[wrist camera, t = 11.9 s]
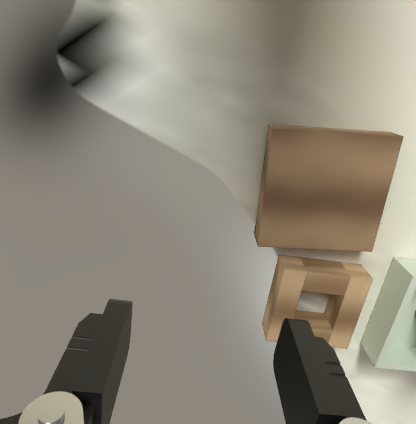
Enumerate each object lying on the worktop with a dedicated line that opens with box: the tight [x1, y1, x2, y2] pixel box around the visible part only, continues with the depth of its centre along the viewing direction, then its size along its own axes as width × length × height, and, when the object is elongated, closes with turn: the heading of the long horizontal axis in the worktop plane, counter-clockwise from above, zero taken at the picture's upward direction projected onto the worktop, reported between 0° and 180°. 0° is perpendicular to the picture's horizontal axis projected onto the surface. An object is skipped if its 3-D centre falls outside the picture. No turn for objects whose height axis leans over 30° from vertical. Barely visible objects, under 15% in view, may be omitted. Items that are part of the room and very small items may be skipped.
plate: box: [254, 125, 403, 252], centre depth 30 cm, size 10×10×2 cm
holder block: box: [262, 255, 373, 349], centre depth 33 cm, size 8×8×2 cm
